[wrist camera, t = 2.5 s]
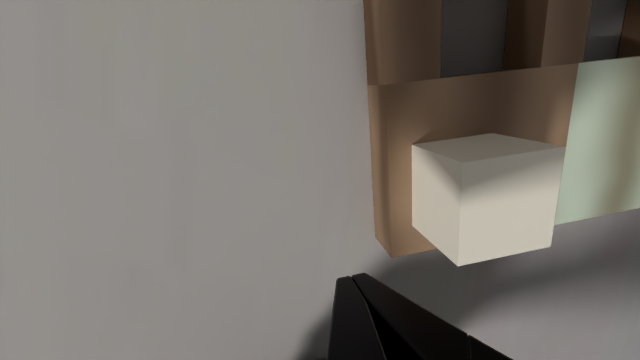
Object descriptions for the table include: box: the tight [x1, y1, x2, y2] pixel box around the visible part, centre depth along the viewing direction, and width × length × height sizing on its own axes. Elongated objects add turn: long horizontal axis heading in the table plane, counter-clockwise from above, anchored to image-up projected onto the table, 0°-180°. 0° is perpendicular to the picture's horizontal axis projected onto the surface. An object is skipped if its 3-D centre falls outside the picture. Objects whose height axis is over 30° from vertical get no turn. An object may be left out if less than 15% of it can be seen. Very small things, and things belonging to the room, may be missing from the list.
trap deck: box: [363, 0, 640, 258], centre depth 16 cm, size 18×16×4 cm
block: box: [412, 133, 566, 266], centre depth 14 cm, size 4×4×4 cm
